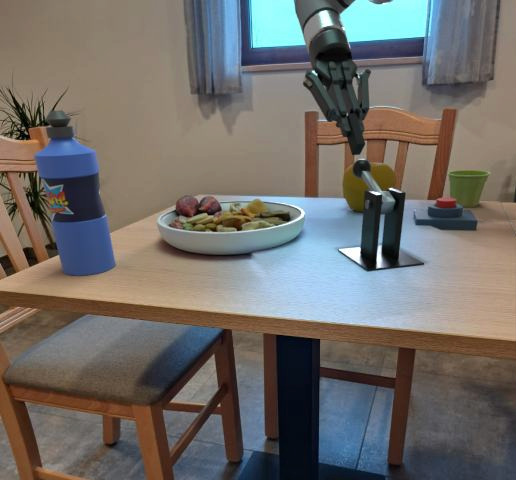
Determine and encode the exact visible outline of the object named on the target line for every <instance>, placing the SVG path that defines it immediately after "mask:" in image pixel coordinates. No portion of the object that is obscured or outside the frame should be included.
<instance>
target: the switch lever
mask: <svg viewBox="0 0 516 480" xmlns="http://www.w3.org/2000/svg"><path fill="white" fill-rule="evenodd" d="M369 162H370V161H369V160H368V159H366V158H359V159H357V160H356V161H355V162H354V163H353V164H354V165H353V164H352V165H353V167H352V171H353V174H354V176H356V177H357V178H363V180H364V181H365V183H366V185H367V186H368V188H369V189H370V190H371V191H374V192H377V193H380V194H382V205H381V216H382V215H385V214H391V213H392V210H393V207H394V204H395V200H394V198H393V197H392V195H391V194H390V192H389V191H383V192H382V191H381V189H380V188H379V186H378V185H377V183H376V182H375V180H374V179H373V177H372V176H371V174H370V171H371V165H370V163H369Z"/></svg>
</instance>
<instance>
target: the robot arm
mask: <svg viewBox="0 0 516 480" xmlns="http://www.w3.org/2000/svg"><path fill="white" fill-rule="evenodd" d="M355 1H356V0H293V4H294V10H295V15H296V18H297V20H298V24H299V27H300V29H301V33H302V36H303V37H302V38H303V41H304V44H305V47H306V51H307V54H308V58H309V63H310V65H311V69H312V70H306V72H305V74H304V78H303V81H302V85H303V87H305V88H306V89H307V90H308V91H309V92H310V94H311V96H312V97H313V98H314V101H315V102H316V104H317V106H318V107H319V109H320V111H321V112H322V114H323V117H324V118H325V120H326V121H327V122H328V123H332V122H333V121H334V122H336V123H335V127H336V128H338V129H339V130H340V133H341V136H342V137H343V138H346V139H347V142H348V146H349V149H350V152H351V155H352V156H360V155H361V154H362V151H363V149H364V148H365V146H366V140H365V138H364V135H363V134H364V132H365V126H364V122H363V121H365V120H366V117H367V115H368V113H369V112H370V89H369V87H370V86H369V78H370V76H371V75H372V71H371V69H368V68H366V69H364V71H362V70H361V69H358V66H357V64H356V63H355V62H354V60H353V54H352V49H351V45H350V43H349V40H348V37H347V33H346V30H345V27H344V24H343V20H342V18H341V15H342V14H343V13H344V12H345V11H346V10H347V9H349V7H350V6H352V4H354V3H355ZM368 1H369V2H370V3H372V4H374V5H387V4H390V3H392V2H393V1H394V0H368ZM354 78H355V81H356V86H357V94H356V91H355V87H354V84H353V81H354Z"/></svg>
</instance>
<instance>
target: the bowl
mask: <svg viewBox="0 0 516 480" xmlns="http://www.w3.org/2000/svg"><path fill="white" fill-rule="evenodd" d="M174 207H175V208H174V209H170V210H167V211H165V212H163V213H162V214H160V215H159V216H158V217H157V218H156V226H157V230H158V232H159V234H160V236H161V238H162V239H163V240H164V241H165V242H166V243H168V244H169V245H170V246H172V247H174V248H176V249H179V250H182V251H185V252H187V253H188V252H189V253H193V254H200V255H201V254H203V255H213V256H228V255H229V256H230V255H231V256H232V255H244V254H245V255H246V254H251V253H252V252H256V251H262V250H263V251H264V250H267V249H268V250H269V249H273V248H276V247H279V246H282V245H285V244H287V243H289V242H291V241H293V240H294V239H295V238H297V236H298V235H299V234H300V233H301V231H302V230H303V227H304V225H305V221H306V219H305V218H306V215H305V214H306V213H305V211H304V209H302V208H301V207H299V206H296V205H293V204H290V203H285V202H278V201H269V200H261V199H260V198H255V199H252V200H223V201H219V200H217V198H216V197H215V196H213V195H205V196H204V197H202V198H201V199H200V200H198V198H197V197H196V196H193V195H189V194H185V195H183V196H182V197H180V198H179V199H178V200H176V202H175V206H174Z"/></svg>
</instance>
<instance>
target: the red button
mask: <svg viewBox="0 0 516 480" xmlns="http://www.w3.org/2000/svg"><path fill="white" fill-rule="evenodd" d="M435 201H436V202H435V203H436V207H439V208H455V207H456V201H457V200H456V199H454V198H450V197H439V198H436V200H435Z"/></svg>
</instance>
